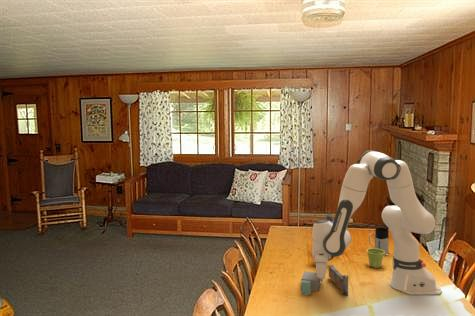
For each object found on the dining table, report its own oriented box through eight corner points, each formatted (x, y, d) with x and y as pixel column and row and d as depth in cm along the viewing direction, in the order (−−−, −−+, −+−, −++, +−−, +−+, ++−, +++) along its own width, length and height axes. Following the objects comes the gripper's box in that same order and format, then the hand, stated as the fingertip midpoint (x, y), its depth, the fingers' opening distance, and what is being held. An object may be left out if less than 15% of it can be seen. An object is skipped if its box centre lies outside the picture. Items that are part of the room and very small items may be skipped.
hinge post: (347, 293, 180) (348, 275, 179) (348, 296, 177) (348, 277, 176) (342, 293, 180) (342, 274, 179) (342, 295, 178) (343, 276, 177)
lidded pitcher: (392, 254, 231) (392, 230, 230) (373, 257, 226) (374, 233, 225) (382, 250, 240) (382, 226, 238) (363, 253, 234) (364, 229, 233)
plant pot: (385, 269, 208) (386, 254, 207) (367, 268, 210) (367, 253, 209) (382, 263, 217) (383, 248, 216) (365, 262, 219) (365, 247, 218)
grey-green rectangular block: (310, 293, 181) (310, 280, 180) (310, 295, 179) (310, 282, 178) (301, 292, 182) (301, 280, 181) (301, 294, 180) (301, 282, 179)
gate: (346, 291, 180) (346, 279, 180) (342, 291, 180) (342, 279, 180) (332, 276, 198) (332, 265, 198) (328, 276, 198) (328, 265, 197)
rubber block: (320, 282, 193) (320, 273, 192) (318, 290, 183) (318, 280, 183) (304, 280, 195) (304, 271, 195) (301, 288, 186) (301, 279, 185)
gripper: (315, 245, 197) (315, 271, 198) (314, 259, 177) (314, 288, 178) (327, 246, 196) (327, 272, 197) (328, 260, 176) (327, 289, 177)
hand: (321, 280), depth 188 cm, fingers closed
